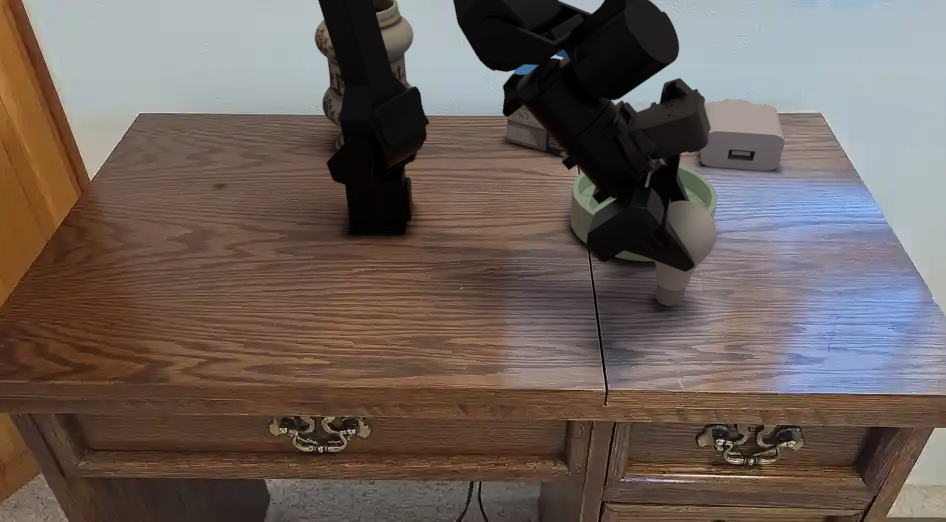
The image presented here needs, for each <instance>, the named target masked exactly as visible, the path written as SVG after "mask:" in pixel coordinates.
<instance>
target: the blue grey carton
mask: <svg viewBox="0 0 946 522" xmlns="http://www.w3.org/2000/svg"><path fill="white" fill-rule="evenodd" d="M555 56H557V57H560V58H562V59H563V58H564V57H566V56H567V54H566V52H565V51H564V50H562V51H561V52H559V53H558V54H556V55H555ZM537 66H538V65H523V66H521V67H519V68H518V69H516V70H513V71H514V72H513V73H515V74H528V73H529V72H530V71H532V70H533V69H534V68H535V67H537ZM506 118H507V122H506V125H507V126H506V141H507V142H508V143H512V144H515V145H520V146H523V147H527V148H530V149H535V150H539V151H542V152H547V153H549V154H553V155H557V156H561V157H564V155H565V152H564V150H563V149H562V148H561V147H560V146H559V145H558V143H557V142H556V141H555V140H554V139H553V138H552V137H551V136H550V134H549V133H548V132H547V131H546V130H545V129H544V128H543V126H542V125H541V124H540V123H539V122H538V121H537V120H536V119H535V117H534V116H533V115H532V114H531V113H530V112H529V111H528V109H527V108H526V107H525V106H524V105H523V106H522V107H521V108H519V109H518V110H517V111H516V112H514V113H513V114H512V115H510V116H509V117H506Z"/></svg>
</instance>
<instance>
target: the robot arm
mask: <svg viewBox="0 0 946 522" xmlns="http://www.w3.org/2000/svg"><path fill="white" fill-rule="evenodd" d="M317 1H318V4H319V7H320V10H321V14H322V17H323V20H324V21H325V24H326V27H327V30H328V33H329V37H330V40H331V43H332V46H333V50H334V53H335V56H336V59H337V63H338V66H339V69H340V72H341V76H342V79H343V82H344V87H345V89H344V95H343V101H342V107H341V113H340V124H341V128H340V130H341V134H342V135H343V140H344V145H343V146H342V147H341V148H340V149H339V150H338V149H337V150H336V152H334V154H332V156H331V157H330V158H329V159H327V161H326V166H327V169H328V171H329V174H330V176H331V179H332V181H334V182H336V183H339V184H341V185H344V187H345V188H344V189H345V197H346V205H347V211H348V212H347V213H348V222H347V227H346V233H347V234H348V235H395V236H396V235H397V236H399V235H400V236H401V235H405V234H406V232H407V228H408V222H411V220H412V216H413V211H414V203H413V191H412V190H413V189H412V179H411V177H409V176H406V166H407V165H408V164H410V163H413V162H415V160H416V158H417V155H418V152H419V151H420V150H421V149H422V147H423V145H424V144H425V141H427V135H428V134H427V133H428V131H427V127H426V126H428V125H429V124H430V120H429V119H428V117H427V115H426V113H425V110H424V107H423V102H422V95H421V92H420V90H419V88H418V87H417V86H415V85H413V86H412V87H411V88H407V87H406V86H405V85H404V84H403V83H402V82H401V81H400V80H399V79H398V78H397V77H396V76H395V75H394V74H393V71H392V69H391V65H390V62H389V58H388V55H387V51H386V47H385V44H384V40H383V37H382V33H381V29H380V26H379V22H378V18H377V15H376V11H375V8H374V4H373V0H317ZM452 1H453V7H454V12H455V17H456V21H457V25H458V27H459V28H460V30H461V32H462V33H463V35H464V37H465V39H466V40H467V42H468V43H469V45H470V47H471V49H472V51H473V53H474V54H475V56H476V57H477V58H478V60H479V62H481V63H482V64H483V65H484V66H485V67H486V68H487V69H489V70H491V71H493V72H496V71H497V72H504V73H508V72H513V71H515V70H516V69H518V68H519V67H521V66H523V65H538V66H537V67H535V68H534V69H533V70H532V71H530V72H529V73H528V74H515V73H514V72H513V73H512V74H511V75H510V76H509V77H508V79H507V80H506V81H505V82H504V83H503V85H502V90H503V104H502V115H503V116H504V117H506V118H507V117H509V116H510V115H512V114H513V113H514V112H516V111H517V110H518V109H519V108H521V107H522V106H523V105H524V106H525V107H526V108H527V109H528V111H529V112H530V113H531V114H532V115H533V116H534V117H535V119H536V120H537V121H538V122H539V123H540V124H541V125H542V126H543V128H544V129H545V130H546V131H547V132H548V133H549V134H550V136H551V137H552V138H553V139H554V140H555V141H556V142H557V143H558V145H559V146H560V147H561V148H562V149H563V150H564V152H565V155H564V156H563V157H562V159H561V164H563V165H564V167H565V168H566V169H567V170H568V171H570V170H571V169H574V167H576V166H577V168H578V169H579V170H580V171H581V172H583V173H584V174H585V175H586V176H587V178H588V179H589V180H590V181H591V182H592V183H593V184H594V186H595V189H594V192H593V195H592V197H593V198H594V199H595V200H596V201H597V202H598V204H600V203H602V202H603V201H605V200H606V199H608V198H609V197H612V198H613V199H614V198H616V199H615V200H613V201H612V202H610V203H609V204H608V205H606V206H605V207H603V208H602V209H600V210H599V211H597V212H596V213H595V214H594V217H593V219H592V222H591V225H590V228H589V231H588V234H587V244H586V243H585V244H586V245H585V247H586V248H587V250H589V252H590V253H591V254H592V255H593V256H594V257H595V258H596V259H597V261H598V262H599V263H606V262H608V261H610V260H611V259H613V258H614V257H615V256H616V255H618V254H619V253H621V252H622V251H627V252H631V253H634V254H637V255H641V256H644V257H647V258H649V259H652V260H655V261H657V262H660V263H663V264H665V265H668V266H671V267H673V268H676V269H678V270H681V271H684V272H687V271H689V270H691V269H693V268H694V267H695V263H694V261H693V259H692V257H691V256H690V254H689V252H688V250H687V249H686V247H685V246H684V244H683V243H682V241H681V240H680V238H679V237H678V235H677V233H676V232H675V230H674V229H673V227H672V226H671V224H670V223H669V221H668V214H669V208H670V203H671V202H675V201H690V200H689V198H688V196H687V194H686V191H685V189H684V187H683V184H682V182H681V179H680V177H679V174H678V169H679V165H680V162H681V158H682V154H685V153H689V154H693V153H696V152H700V150H701V149H703V148H704V147H706V146H707V144H708V141H709V140H708V135H709V131H710V129H711V127H710V123H709V120H708V117H707V113H706V110H705V107H704V104H706V98H705V97H704V96H703V95H702V93H700V92H699V89H698V88H695V89H692V88H691V87H690V86H689V85H688V84H687V83H686V82H685V81H684V80H683V79H682V78H681V77H677V78H675V79H672V80H668V81H665V82H664V83H663V86H662V90H661V93H660V99H659V102H658V103H657V102H656V101H653V102H651V103H650V106H649V107H647V108H645V109H642V110H639V111H637V110H635V109H634V107H633V106H632V105H631V103H630V102H628V101H626V102H624V100H622V99H621V98H623V97H624V96H626V95H627V94H629V93H630V92H632V91H633V90H635V89H636V88H637V87H639V86H641V85H642V84H644V83H645V82H647V81H648V80H649V79H651V78H652V77H654V76H655V75H657V74H658V73H660V72H661V71H663V70H664V69H665V68H668V66H670V65H671V64H673V63H674V62H675V61H676V60H677V59H678V57H679V53H680V41H679V37H678V34H677V31H676V28H675V26H674V24H673V22H672V20H671V18H670V17H669V15H668V13H667V12H666V11H663V10H661V9H660V8H659V7H658V6H657V5H656V4H655V3H654V2H652V0H604V1H602V3H601V5H600V6H599V7H598V8H597V9H595V11H593V12H592V13H591V12H589V11H586V10H584V9H580V8H578V7H576V6H574V5H571V4H568V3H566V2H563V1H562V0H561V1H560V0H452ZM562 50H564V51H565V52H566V54H567V56H566V57H564V58H563V57H562V58H561V59H560V58H557V57H554V56H557V55H556V54H558V53H559V52H561V51H562ZM620 99H621V100H620ZM617 100H620V101H619V102H618V103H614V102H613V101H617ZM655 261H654V262H655Z"/></svg>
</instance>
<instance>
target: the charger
mask: <svg viewBox="0 0 946 522" xmlns="http://www.w3.org/2000/svg"><path fill="white" fill-rule="evenodd" d="M704 107H705V110H706V113H707V117H708V120H709V123H710V127H711V129H710V131H709V135H708V140H709V141H708V144H707V146H706V147H704V148H703V149H701V150H699V154H700V162H701V164H702V165H704V166H707V167H712V168H721V169H735V170H736V169H737V170H748V171H749V170H750V171H760V172H761V171H763V172H764V171H766V172H767V171H773V170H775V169H777V168H778V167H779V165H780V162H781V158H782V153H783V151H784V146H785V137H784V133H783V130H782V126H781V122H780V117H779V114H778V110H777V108H776V107H775V106H773V105H770V104H762V103H752V102H750V101H748V100H747V99H735V98H734V99H733V98H725V99H723V100H720V101H708V102H705V104H704Z"/></svg>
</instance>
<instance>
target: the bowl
mask: <svg viewBox="0 0 946 522" xmlns="http://www.w3.org/2000/svg"><path fill="white" fill-rule="evenodd" d="M678 174H679V177H680V179H681V182H682V184H683V187H684V189H685V191H686V194H687V196H688V198H689V200H690V202H694V203H696V204H698V205H700V206H702V207H703V208H705V209H706V210H707V211H708V213H709V214H710V215H711V217H712V219H713V221H715V214H716V209H717V206H718V205H717V204H718V194H717V192H716V189H715V186H713V184H711V182H710V181H709V180H708V179H707V178H706V177H704V176H703V175H701V174H699V173H698V172H697V171H695V170H693V169H691V168H688V167H685V166H683V165H681V164H679V169H678ZM594 189H595V186H594V184H593V183H592V182H591V181H590V180H589V179H588V178H587V176H586V175H585V174H584V173H583V172H582V171H581V172H580V173H579V174H578V175H577V176H576V177H575V179H574V181H573V185H572V187H571V200H570V211H569V220H570V227H571V229H572V230H573V232H574V234H575V235H576V236H577V238H579V239H580V240H581V241H582V242H583V243H584V244H587V234H588V231H589V228H590V225H591V222H592V219H593V217H594V214H595V213H596V212H597V211H599V210H600V209H602V208H603V207H605V206H606V205H608V204H609V203H610V202H612V201H613V200H615V199H616V198H614V199H613V198H612V197H609V198H608V199H606V200H605V201H603V202H602V203H600V204H598V202H597V201H596V200H595V199H594V198H593V197H592V195H593V192H594ZM614 257H615V258H618V259H622V260H623V259H624V260H629V261H635V262H637V261H638V262H655V260H652V259H649V258H647V257H644V256H641V255H637V254H634V253H631V252H627V251H622V252H621V253H619V254H618V255H616V256H614Z"/></svg>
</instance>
